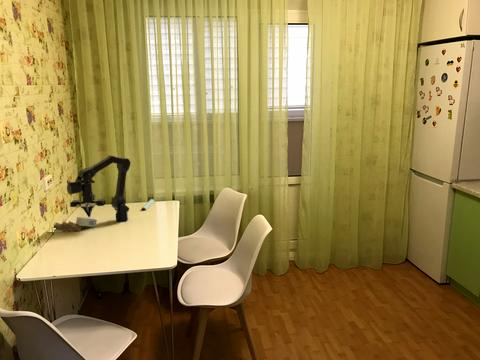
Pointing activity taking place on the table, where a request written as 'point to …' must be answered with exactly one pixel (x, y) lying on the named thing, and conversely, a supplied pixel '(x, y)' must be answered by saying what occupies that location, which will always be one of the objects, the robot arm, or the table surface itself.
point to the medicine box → (86, 221)
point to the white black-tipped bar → (147, 205)
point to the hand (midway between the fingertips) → (89, 217)
